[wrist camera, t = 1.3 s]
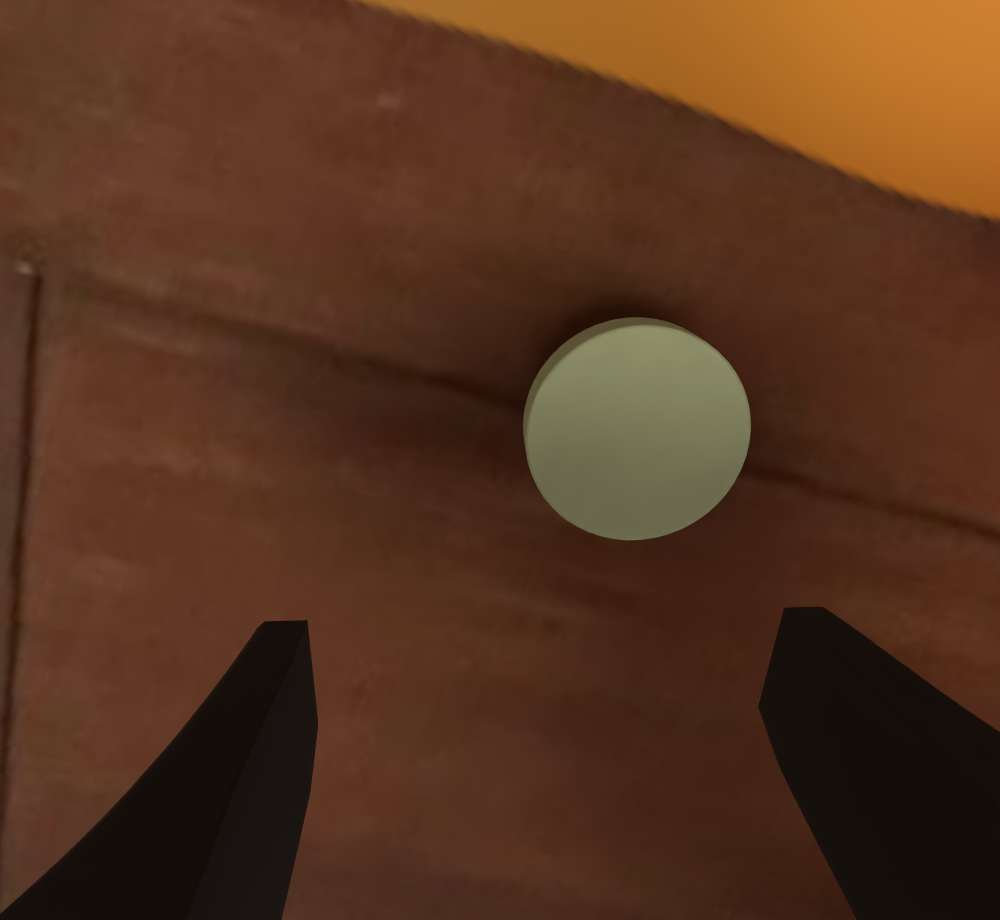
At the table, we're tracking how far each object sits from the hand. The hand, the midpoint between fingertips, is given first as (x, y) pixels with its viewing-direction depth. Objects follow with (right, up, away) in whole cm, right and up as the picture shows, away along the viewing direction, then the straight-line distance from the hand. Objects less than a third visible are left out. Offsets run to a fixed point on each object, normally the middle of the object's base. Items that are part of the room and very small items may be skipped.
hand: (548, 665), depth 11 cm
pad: (+2, +5, +10) cm, 11 cm away
